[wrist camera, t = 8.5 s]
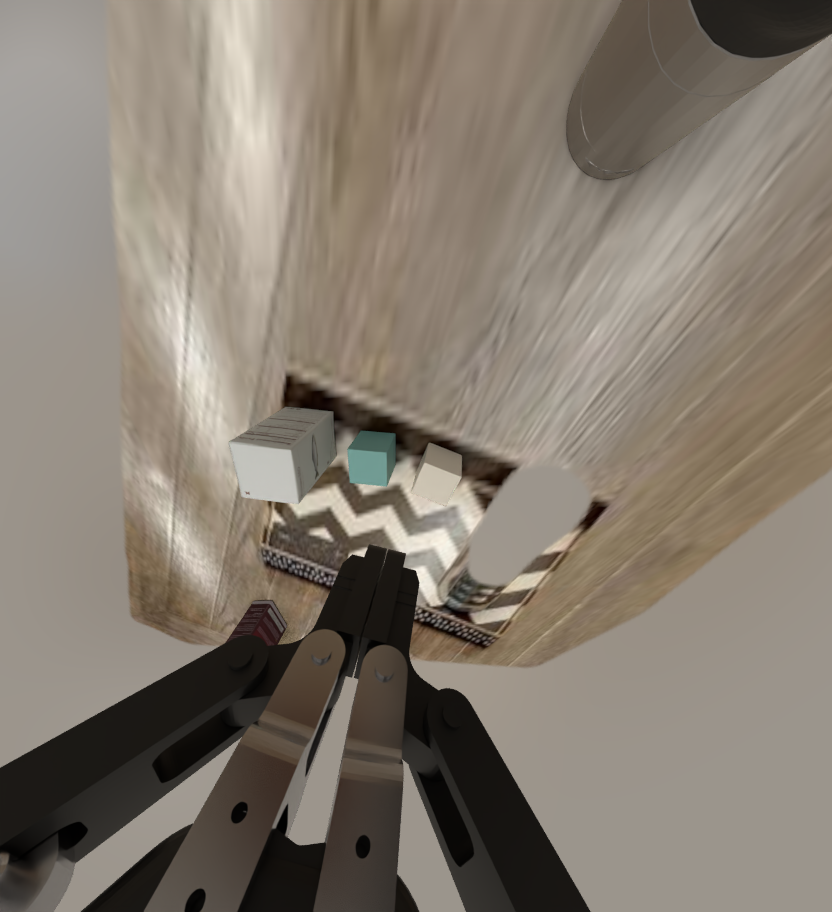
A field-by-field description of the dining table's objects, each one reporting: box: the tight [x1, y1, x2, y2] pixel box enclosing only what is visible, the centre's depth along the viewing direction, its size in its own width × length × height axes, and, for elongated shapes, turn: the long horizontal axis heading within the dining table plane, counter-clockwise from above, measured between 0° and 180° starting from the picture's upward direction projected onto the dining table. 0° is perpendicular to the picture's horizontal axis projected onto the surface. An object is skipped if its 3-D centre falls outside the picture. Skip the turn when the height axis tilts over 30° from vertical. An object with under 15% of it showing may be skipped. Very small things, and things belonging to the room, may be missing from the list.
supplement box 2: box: [226, 601, 287, 646], centre depth 61 cm, size 9×5×16 cm, turn 12°
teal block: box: [347, 431, 396, 486], centre depth 43 cm, size 5×5×6 cm
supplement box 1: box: [229, 407, 336, 504], centre depth 40 cm, size 7×7×13 cm
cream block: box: [411, 443, 462, 506], centre depth 43 cm, size 5×5×6 cm
